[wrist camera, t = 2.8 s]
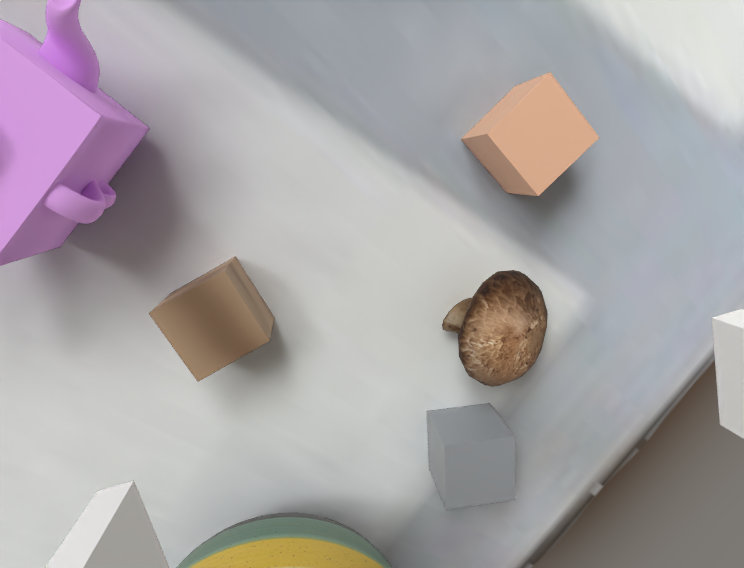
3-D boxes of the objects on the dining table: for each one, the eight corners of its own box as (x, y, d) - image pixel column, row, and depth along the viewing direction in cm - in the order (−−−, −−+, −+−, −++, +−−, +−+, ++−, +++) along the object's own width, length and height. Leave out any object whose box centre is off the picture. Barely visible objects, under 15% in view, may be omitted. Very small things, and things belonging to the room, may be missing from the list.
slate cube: (428, 468, 39) (446, 510, 34) (426, 410, 38) (443, 445, 33) (489, 459, 40) (515, 499, 35) (489, 402, 38) (515, 435, 34)
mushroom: (406, 338, 33) (487, 366, 29) (457, 240, 35) (540, 252, 31) (455, 383, 38) (530, 412, 34) (497, 296, 40) (573, 313, 36)
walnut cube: (212, 352, 35) (197, 381, 30) (171, 292, 33) (148, 313, 29) (274, 317, 35) (269, 340, 30) (235, 256, 33) (224, 270, 29)
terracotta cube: (506, 192, 35) (538, 196, 30) (460, 139, 34) (486, 133, 29) (558, 142, 35) (599, 137, 30) (514, 86, 33) (550, 71, 29)
